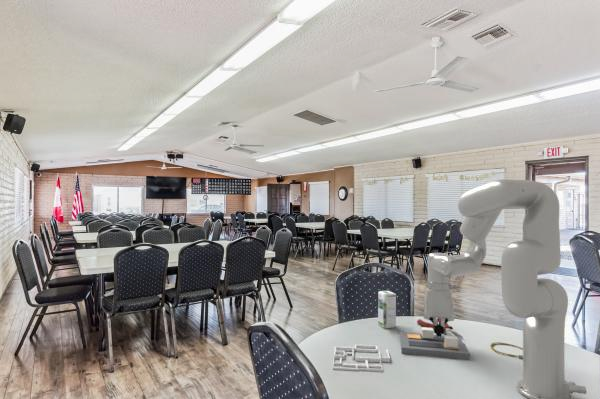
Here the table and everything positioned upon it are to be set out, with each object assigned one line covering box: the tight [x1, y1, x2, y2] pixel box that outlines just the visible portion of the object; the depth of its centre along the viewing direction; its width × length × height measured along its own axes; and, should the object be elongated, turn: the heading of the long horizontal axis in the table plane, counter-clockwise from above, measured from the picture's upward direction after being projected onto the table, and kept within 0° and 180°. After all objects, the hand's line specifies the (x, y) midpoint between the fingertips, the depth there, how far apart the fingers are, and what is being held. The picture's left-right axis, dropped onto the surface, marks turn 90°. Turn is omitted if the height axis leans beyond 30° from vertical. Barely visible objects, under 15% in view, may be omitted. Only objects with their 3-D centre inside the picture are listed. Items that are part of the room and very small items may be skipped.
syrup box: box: [377, 290, 397, 329], centre depth 155 cm, size 6×6×14 cm
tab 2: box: [443, 334, 458, 348], centre depth 127 cm, size 4×3×3 cm
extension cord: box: [490, 341, 523, 360], centre depth 127 cm, size 12×16×2 cm
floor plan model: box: [332, 344, 391, 373], centre depth 125 cm, size 19×25×2 cm
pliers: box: [416, 317, 464, 339], centre depth 149 cm, size 12×21×3 cm, turn 14°
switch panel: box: [399, 331, 470, 360], centre depth 131 cm, size 22×16×2 cm
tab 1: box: [421, 327, 435, 339], centre depth 135 cm, size 4×3×3 cm
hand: (438, 335), depth 134 cm, fingers closed
